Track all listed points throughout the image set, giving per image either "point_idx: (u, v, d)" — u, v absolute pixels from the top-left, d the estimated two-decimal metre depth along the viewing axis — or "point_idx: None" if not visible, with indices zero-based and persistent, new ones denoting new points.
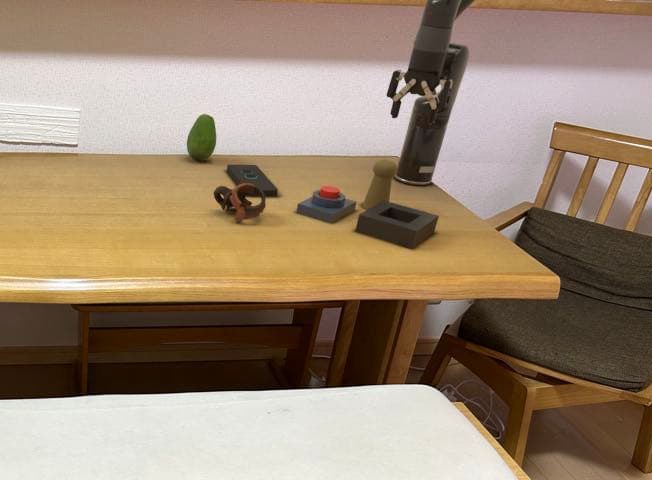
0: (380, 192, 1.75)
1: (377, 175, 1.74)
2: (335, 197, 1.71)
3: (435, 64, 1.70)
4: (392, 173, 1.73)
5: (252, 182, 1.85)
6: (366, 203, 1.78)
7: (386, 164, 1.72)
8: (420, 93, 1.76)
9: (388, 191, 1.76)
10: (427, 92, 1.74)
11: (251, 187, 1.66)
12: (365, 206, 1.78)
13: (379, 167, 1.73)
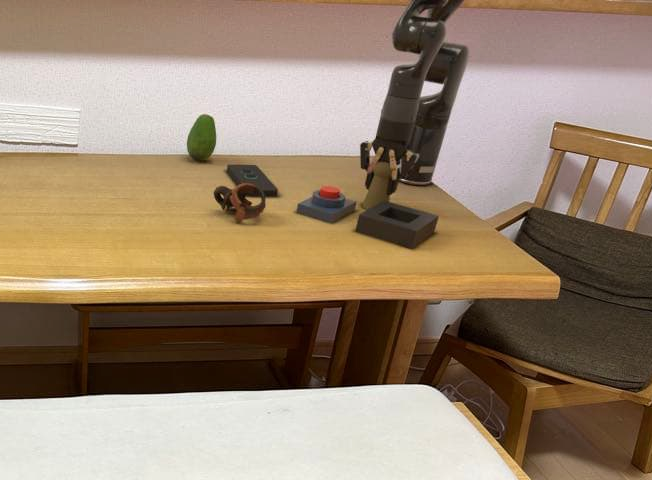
0: (380, 192, 1.75)
1: (377, 175, 1.74)
2: (335, 197, 1.71)
3: (402, 134, 1.66)
4: None
5: (252, 182, 1.85)
6: (366, 203, 1.78)
7: (386, 164, 1.72)
8: (388, 161, 1.72)
9: None
10: (392, 161, 1.71)
11: (251, 187, 1.66)
12: (365, 206, 1.78)
13: (379, 167, 1.73)
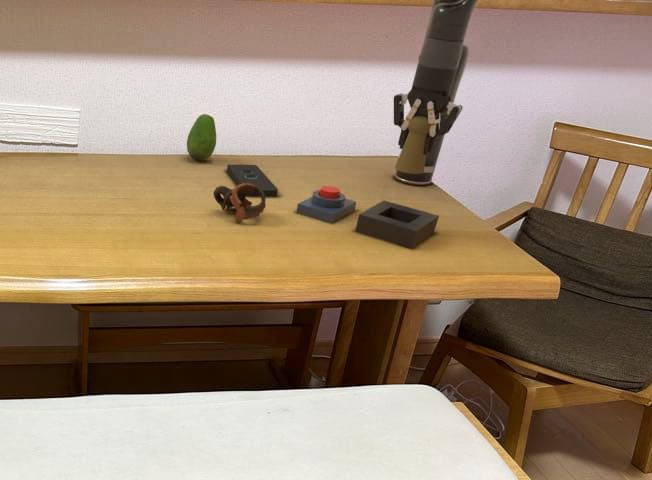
0: (416, 151, 1.55)
1: (413, 132, 1.54)
2: (335, 197, 1.71)
3: (443, 83, 1.47)
4: None
5: (252, 182, 1.85)
6: (399, 164, 1.58)
7: (424, 118, 1.52)
8: (426, 115, 1.52)
9: None
10: (430, 115, 1.51)
11: (251, 187, 1.66)
12: (398, 168, 1.59)
13: (415, 122, 1.53)
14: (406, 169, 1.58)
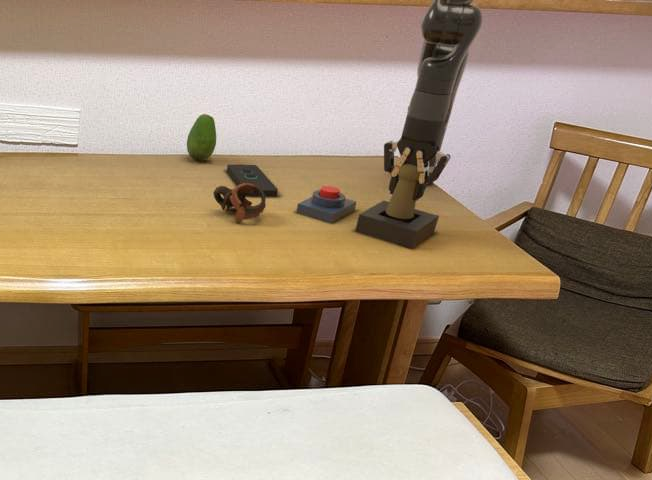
0: (406, 197, 1.60)
1: (403, 179, 1.59)
2: (335, 197, 1.71)
3: (432, 134, 1.51)
4: None
5: (252, 182, 1.85)
6: (390, 209, 1.63)
7: (413, 166, 1.57)
8: (415, 163, 1.57)
9: None
10: (419, 164, 1.56)
11: (251, 187, 1.66)
12: (388, 212, 1.63)
13: (405, 169, 1.57)
14: (396, 214, 1.62)
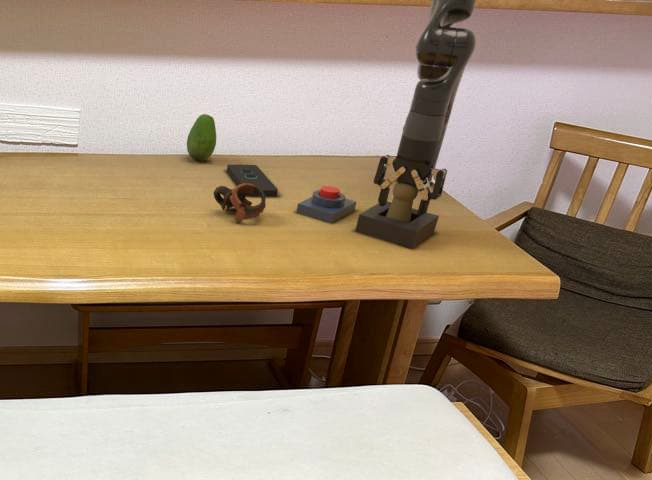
0: (400, 216, 1.62)
1: (397, 198, 1.61)
2: (335, 197, 1.71)
3: (426, 154, 1.53)
4: (413, 196, 1.60)
5: (252, 182, 1.85)
6: None
7: (407, 186, 1.59)
8: (410, 182, 1.59)
9: (409, 215, 1.63)
10: (418, 182, 1.58)
11: (251, 187, 1.66)
12: None
13: (399, 189, 1.60)
14: None
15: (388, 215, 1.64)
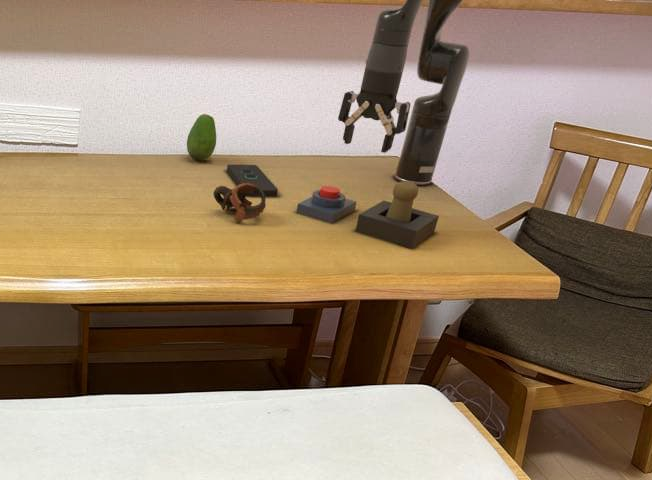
0: (400, 216, 1.62)
1: (397, 198, 1.61)
2: (335, 197, 1.71)
3: (389, 86, 1.53)
4: (413, 196, 1.60)
5: (252, 182, 1.85)
6: None
7: (407, 186, 1.59)
8: (374, 117, 1.58)
9: (409, 215, 1.63)
10: (382, 116, 1.57)
11: (251, 187, 1.66)
12: None
13: (399, 189, 1.60)
14: None
15: (388, 215, 1.64)
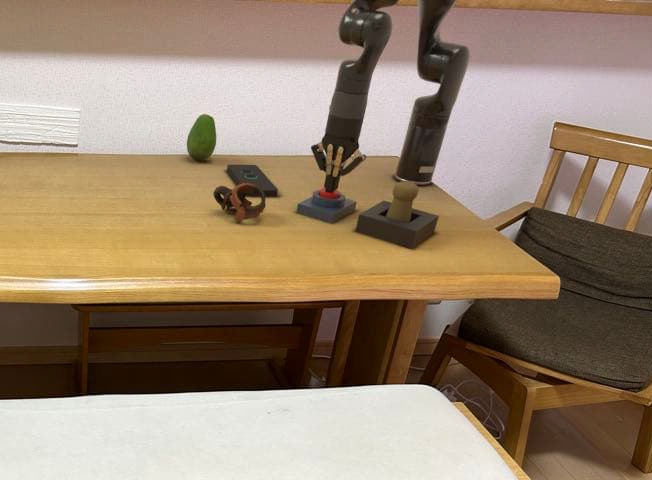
0: (400, 216, 1.62)
1: (397, 198, 1.61)
2: None
3: (351, 131, 1.61)
4: (413, 196, 1.60)
5: (252, 182, 1.85)
6: None
7: (407, 186, 1.59)
8: None
9: (409, 215, 1.63)
10: (338, 159, 1.66)
11: (251, 187, 1.66)
12: None
13: (399, 189, 1.60)
14: None
15: (388, 215, 1.64)
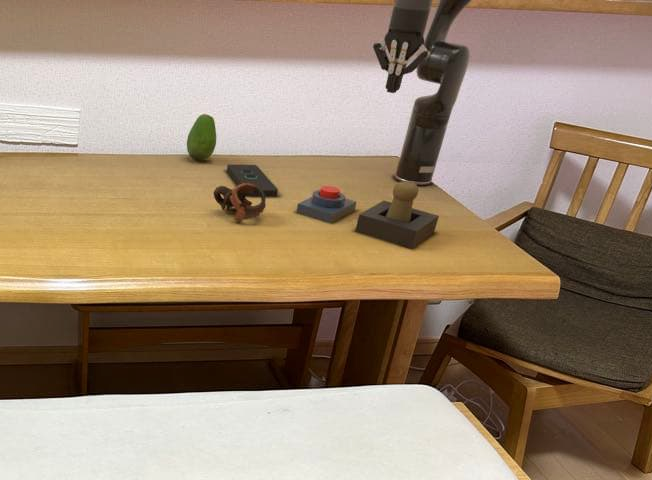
0: (400, 216, 1.62)
1: (397, 198, 1.61)
2: (335, 197, 1.71)
3: (417, 24, 1.58)
4: (413, 196, 1.60)
5: (252, 182, 1.85)
6: None
7: (407, 186, 1.59)
8: None
9: (409, 215, 1.63)
10: (402, 55, 1.63)
11: (251, 187, 1.66)
12: None
13: (399, 189, 1.60)
14: None
15: (388, 215, 1.64)
